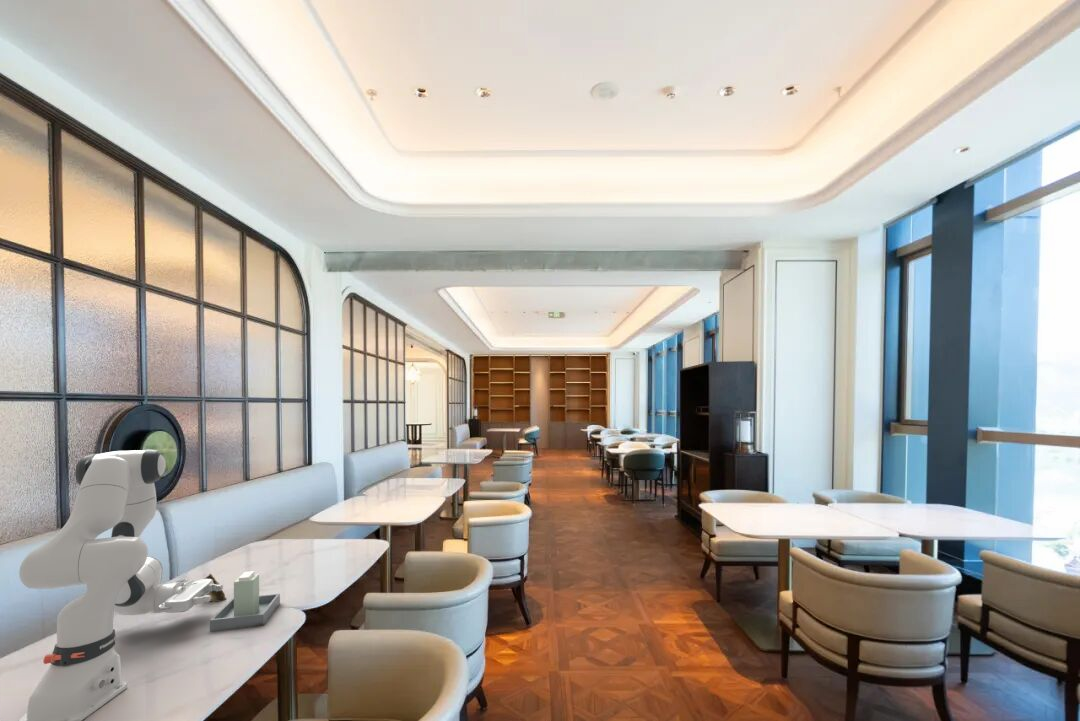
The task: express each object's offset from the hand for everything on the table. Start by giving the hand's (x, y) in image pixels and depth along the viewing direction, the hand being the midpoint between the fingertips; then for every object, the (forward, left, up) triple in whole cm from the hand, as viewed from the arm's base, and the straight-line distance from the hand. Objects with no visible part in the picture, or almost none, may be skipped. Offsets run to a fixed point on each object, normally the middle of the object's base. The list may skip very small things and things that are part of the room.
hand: (216, 592), depth 176 cm
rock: (+22, +9, -9) cm, 26 cm away
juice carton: (0, -9, -8) cm, 12 cm away
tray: (0, -10, -9) cm, 13 cm away
